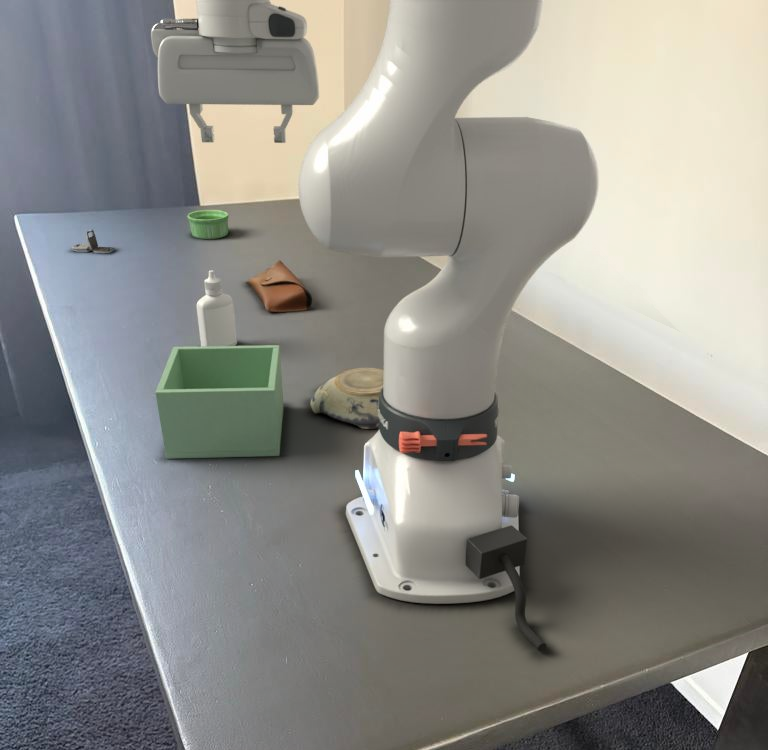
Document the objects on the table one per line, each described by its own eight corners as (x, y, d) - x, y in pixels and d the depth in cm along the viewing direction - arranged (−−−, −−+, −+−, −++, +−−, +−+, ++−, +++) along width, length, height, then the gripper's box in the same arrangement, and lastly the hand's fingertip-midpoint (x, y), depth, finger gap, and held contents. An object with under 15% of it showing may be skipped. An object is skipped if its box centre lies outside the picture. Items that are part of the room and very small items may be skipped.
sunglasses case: (242, 280, 150) (257, 248, 148) (274, 295, 154) (289, 264, 152) (266, 312, 137) (283, 277, 134) (301, 327, 140) (318, 293, 138)
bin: (279, 456, 97) (274, 390, 92) (166, 458, 96) (155, 392, 91) (283, 406, 108) (279, 345, 103) (182, 408, 107) (173, 346, 102)
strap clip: (71, 251, 167) (66, 231, 164) (77, 247, 169) (73, 227, 167) (109, 254, 166) (105, 233, 163) (115, 249, 168) (111, 229, 166)
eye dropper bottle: (238, 351, 124) (231, 274, 117) (202, 353, 122) (192, 276, 116) (236, 340, 127) (229, 265, 120) (201, 343, 126) (191, 267, 119)
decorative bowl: (301, 387, 113) (323, 435, 101) (300, 363, 111) (322, 408, 99) (402, 377, 117) (435, 422, 104) (403, 354, 115) (436, 396, 102)
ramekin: (187, 231, 181) (185, 211, 179) (227, 228, 183) (225, 208, 181) (192, 241, 174) (189, 220, 172) (233, 238, 176) (231, 218, 174)
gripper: (143, 19, 94) (160, 146, 102) (316, 22, 95) (320, 147, 103) (152, 16, 99) (168, 136, 107) (317, 18, 100) (320, 137, 108)
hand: (244, 142), depth 105 cm, fingers open, 8 cm apart
